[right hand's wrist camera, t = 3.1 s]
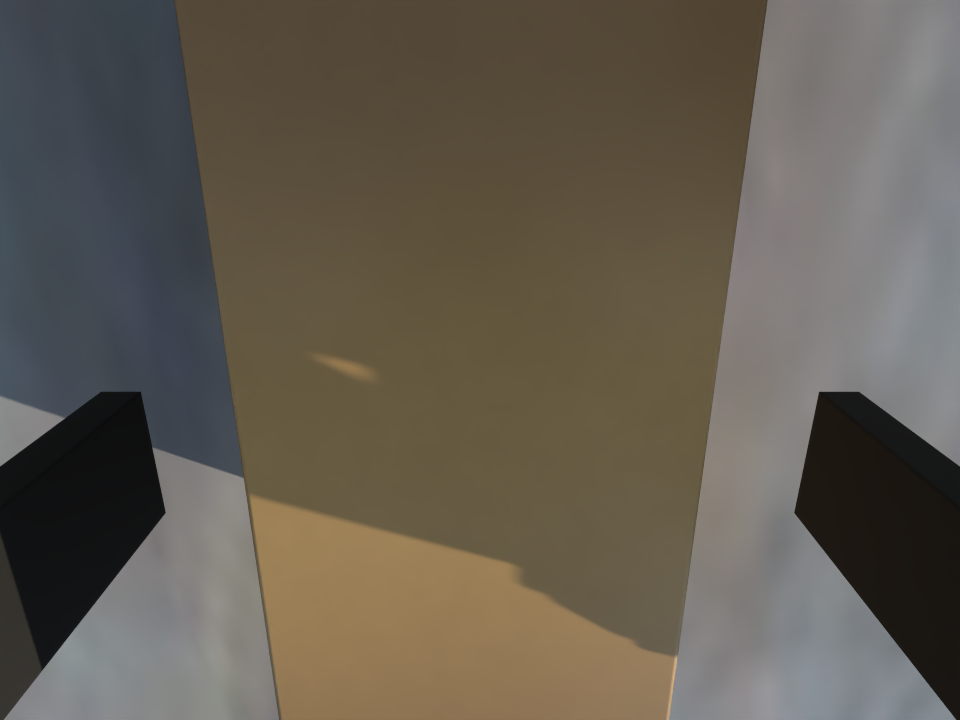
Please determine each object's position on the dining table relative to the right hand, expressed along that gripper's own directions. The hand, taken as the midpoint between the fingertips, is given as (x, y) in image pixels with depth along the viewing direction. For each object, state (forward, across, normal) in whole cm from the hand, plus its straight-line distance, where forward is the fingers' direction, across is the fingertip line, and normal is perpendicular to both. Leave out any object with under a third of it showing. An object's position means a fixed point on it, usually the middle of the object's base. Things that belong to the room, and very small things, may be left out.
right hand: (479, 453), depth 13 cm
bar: (+4, 0, -8) cm, 9 cm away
